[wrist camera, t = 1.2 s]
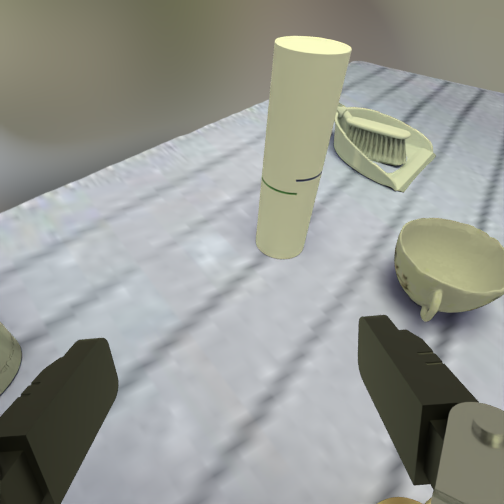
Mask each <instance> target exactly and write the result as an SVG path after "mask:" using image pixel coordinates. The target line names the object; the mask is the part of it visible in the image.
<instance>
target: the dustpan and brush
mask: <svg viewBox="0 0 504 504" xmlns="http://www.w3.org/2000/svg"><path fill="white" fill-rule="evenodd" d="M334 121H335V135H334V148H335V150H336V152H337V154H338V155H339V156H340V158H341V159H342V160H343V161H345V162H346V163H347V164H348V165H349V166H351V167H352V168H353V169H355V170H356V171H358V172H359V173H361V174H362V175H364V176H366V177H368V178H370V179H372V180H373V181H375V182H377V183H380V184H382V185H387V186H389V187H391V188H393V189H394V190H395V191H397V190H398V191H401V192H404V191H405V190H406V189H407V188H408V186H409V185H410V184H411V182H412V181H413V180H414V179H415V178H416V177H417V175H418V174H419V173H420V172H421V171H422V170H423V169H424V168H425V167H426V165H428V164H429V163H430V162H431V161H432V160H433V159H434V158H435V157H436V155H435V154H434V153H433V146H432V144H431V142H430V141H429V140H428V139H427V138H426V137H425V136H424V135H423V134H422V133H420V132H419V131H418V130H416V129H413V128H411V126H409V125H407V124H405V123H403V122H401V121H400V120H398V119H396V118H394V117H391V116H387V115H385V114H382V113H380V112H378V111H375V110H371V109H365V108H357V107H349V108H346V107H345V106H344V105H342V104H340V103H338V108H337V112H336V116H335V120H334ZM406 156H407V157H408V159H407V161H406ZM370 160H372V161H370ZM373 161H376V162H378V163H384V164H388V165H393V166H398V165H402V164H404V165H403V166H401V167H400V169H398V170H397V171H395V172H393V173H386V172H384V171H383V170H382V169H381V168H380V167H379V166H378V165H377V164H375V163H373ZM405 162H406V163H405Z"/></svg>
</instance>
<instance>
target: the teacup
mask: <svg viewBox="0 0 504 504" xmlns="http://www.w3.org/2000/svg"><path fill="white" fill-rule="evenodd" d="M394 263H395V270H396V274H397V277H398V280H399V282H400V284H401V286H402V287H403V289H404V290H405V292H406V293H407V294H408V295H409V297H410V298H411V299H412V300H413V301H414V302H415V303H417V304H418V305H420V306H422V310H421V313H420V315H421V318H422V320H423V321H425V322H427V321H430V320H431V319H432V318H433V316H434V315H435V314H436V313H437V311H440V312H448V313H453V312H465V311H470V310H473V309H477V308H479V307H482V306H484V305H487V304H489V303H491V302H492V301H494V300H496V299H498V298H499V297H501V296H502V295H504V248H503V247H502V246H501V244H500V243H499V241H498V240H496V239H495V238H492V237H489V235H488V234H487V233H485V232H483V231H481V230H480V229H476V228H475V227H474V226H471V225H468V224H463V223H459V222H456V221H452V220H446V219H440V218H429V219H426V218H421V219H417V220H413V221H410V222H408V223H406V224H405V225H404V226H403V228H402V230H401V232H400V234H399V236H398V240H397V244H396V248H395V255H394ZM428 309H429V311H427V310H428Z"/></svg>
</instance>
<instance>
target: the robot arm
mask: <svg viewBox="0 0 504 504" xmlns="http://www.w3.org/2000/svg"><path fill="white" fill-rule="evenodd" d="M21 356H22V353H21V347H20V345H19V343H18V342H17V340H16V339H15V338H14V337H13V336H12V334H11V333H10V332H9V331H8V330H7V329H6V328H5V326H4V325H3V324H2V323H1V322H0V394H1V393H2V392H3V391H4V390H5V389H6V388H7V387H8V385H9V384H10V383H11V382H12V380H13V378H14V377H15V375H16V373H17V371H18V369H19V366H20V363H21ZM358 365H359V371H360V374H361V377H362V380H363V382H364V384H365V386H366V388H367V390H368V392H369V394H370V396H371V399H372V401H373V403H374V405H375V407H376V409H377V411H378V413H379V415H380V417H381V419H382V421H383V423H384V425H385V427H386V429H387V431H388V433H389V436H390V438H391V440H392V442H393V444H394V446H395V448H396V450H397V452H398V454H399V456H400V458H401V460H402V462H403V464H404V466H405V468H406V471H407V473H408V475H409V477H410V479H411V481H412V483H413V485H425V484H431V486H432V488H433V490H434V491H433V495H432V500H431V504H504V411H503V410H501V409H498V408H496V407H493V406H491V405H487V404H483V403H479V402H478V401H477V400H476V399H475V397H474V396H473V395H472V394H471V393H470V392H469V391H468V390H467V389H466V387H465V386H464V385H463V384H462V383H461V382H460V381H459V380H458V379H457V377H456V376H455V375H454V374H453V373H452V372H451V371H450V370H449V368H448V367H447V366H446V365H445V364H443V363H442V361H441V360H440V358H439V357H438V356H437V355H436V354H434V353H433V351H432V349H431V348H430V347H429V346H428V345H427V344H426V343H425V342H424V341H423V339H421V338H419V337H418V336H416V335H414V334H413V333H411V332H409V331H408V330H398V329H397V327H396V326H395V325H394V324H393V322H392V321H391V320H390V319H389V318H388V316H386V315H377V316H365V317H360V319H359V333H358ZM117 392H118V376H117V373H116V369H115V365H114V362H113V358H112V354H111V351H110V347H109V344H108V341H107V340H106V339H105V338H94V339H82V340H78V341H76V342H75V344H74V345H73V346H72V347H71V348H70V349H69V350H68V352H67V353H66V354H65V355H64V356H63V357H61V358H59V359H58V360H56V361H55V362H53V363H52V364H51V365H49V366H48V367H46V368H45V369H43V371H42V372H41V373H40V374H39V375H38V376H37V377H36V378H35V379H34V380H33V382H32V383H31V385H30V386H28V387H27V388H26V389H25V390H24V391H23V393H22V394H21V397H18V398H17V399H16V400H15V401H14V402H13V403H12V405H11V406H10V407H9V408H8V409H7V410H6V411H5V412H4V413H3V414H2V416H1V417H0V504H61V502H62V500H63V498H64V496H65V494H66V493H67V491H68V489H69V487H70V485H71V483H72V481H73V479H74V477H75V475H76V473H77V471H78V470H79V468H80V466H81V464H82V462H83V460H84V458H85V456H86V454H87V452H88V450H89V448H90V447H91V445H92V443H93V441H94V439H95V437H96V435H97V433H98V431H99V429H100V427H101V425H102V424H103V422H104V420H105V418H106V416H107V414H108V412H109V410H110V408H111V406H112V404H113V402H114V401H115V398H116V396H117Z"/></svg>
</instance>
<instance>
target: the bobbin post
mask: <svg viewBox="0 0 504 504" xmlns="http://www.w3.org/2000/svg"><path fill="white" fill-rule="evenodd" d="M431 500H432V497H431V498H430V499H429V500H428V501H427V502H426V503H425V504H431ZM377 504H422V503H420V502H418V501H415V500H413V499H409V498H404V497H393V498H389V499H385V500H383V501H381V502H379V503H377Z"/></svg>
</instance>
